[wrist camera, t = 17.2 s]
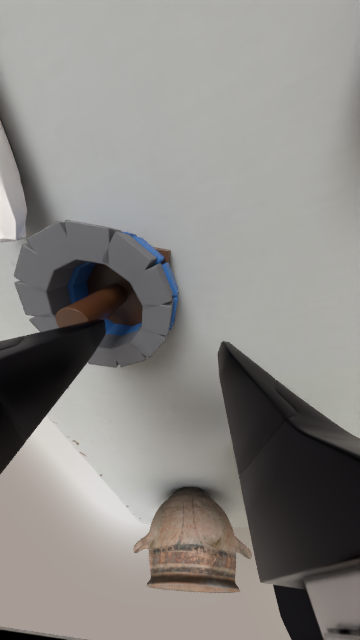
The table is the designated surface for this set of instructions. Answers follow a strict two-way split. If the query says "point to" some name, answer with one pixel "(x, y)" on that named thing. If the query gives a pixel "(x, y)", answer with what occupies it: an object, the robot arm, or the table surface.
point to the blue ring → (80, 291)
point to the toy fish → (10, 195)
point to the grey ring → (103, 248)
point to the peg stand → (106, 299)
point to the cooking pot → (192, 545)
